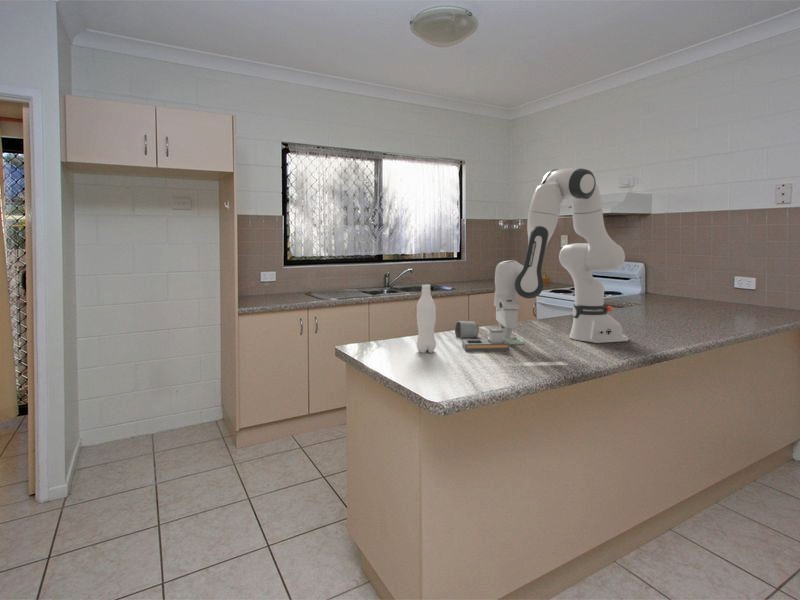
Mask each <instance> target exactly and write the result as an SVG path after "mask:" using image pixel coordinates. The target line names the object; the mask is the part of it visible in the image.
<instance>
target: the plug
mask: <svg viewBox="0 0 800 600" xmlns="http://www.w3.org/2000/svg"><path fill="white" fill-rule="evenodd" d="M498 329H502V330H503V339H505V340H506V341H507V342H512V340H513V339H512V336H513V335H512V334H513V331H512V332H511V338H510V339H506V338H505V334H506V328H505V327H504V326H502V325H500V324H499V325H498Z"/></svg>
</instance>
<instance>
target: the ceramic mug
mask: <svg viewBox="0 0 800 600" xmlns="http://www.w3.org/2000/svg"><path fill="white" fill-rule="evenodd" d="M478 325H479V324H478V323H477V322H475V321H472V320H471V321H468V320H467V321H466V320H458V321H456V323H455V325H454V335H455V337H456V338H460V339H469V338H470V339H471V338H477V337H478V336H479V326H478Z"/></svg>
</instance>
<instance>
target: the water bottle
mask: <svg viewBox="0 0 800 600" xmlns="http://www.w3.org/2000/svg"><path fill="white" fill-rule="evenodd" d="M431 291H432V289H431V285H430V284H422V285H421V290H420V292H421V294H420V297H419V299H418V302H417V303H416V307H415V308H416V325H417V330H418V334H417V341H416V348H417V351H418V352H419V353H422V354H426V352H428V353H429V354H432V353H433V352H434V351H435V349H436V347H437V343H436V338H435V325H436V322H437V321H436V318H437V316H436V314H437V313H436V312H437V311H436V309H437V306H436V303H435V301H434V299H433V297H432V295H431V294H432V293H431Z"/></svg>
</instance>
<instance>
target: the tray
mask: <svg viewBox="0 0 800 600" xmlns="http://www.w3.org/2000/svg"><path fill="white" fill-rule="evenodd" d="M487 339H490V336H487ZM511 340H517V341H511V342H508V343H509V345H524V343H525V341H524V340H522V339H521V338H519V336H517V335H516V336H515V335H514V336H513V335H512V339H511Z"/></svg>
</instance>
